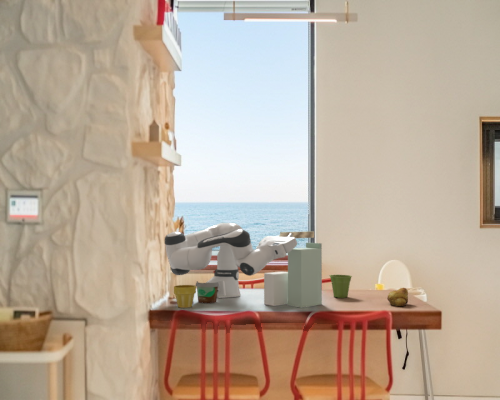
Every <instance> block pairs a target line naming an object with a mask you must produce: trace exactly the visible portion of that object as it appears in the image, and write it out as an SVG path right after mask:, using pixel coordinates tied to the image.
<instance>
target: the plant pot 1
mask: <svg viewBox="0 0 500 400" xmlns="http://www.w3.org/2000/svg"><path fill="white" fill-rule="evenodd" d="M196 292H197V286H196V284H195V285H194V284H179V285H174V286H173V294H174V295H175V301H176V305H177V308H181V309H188V308H189V309H190V308H192V307H193V304H194V303H193V302H194V298H195V295H196Z"/></svg>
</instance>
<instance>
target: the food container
mask: <svg viewBox="0 0 500 400" xmlns="http://www.w3.org/2000/svg"><path fill="white" fill-rule="evenodd" d="M195 286H196V292H197V302H198V303H200V304H215V303H217V290H218V286H219V283H218V282H216V283H206V282H199V281H196V282H195Z"/></svg>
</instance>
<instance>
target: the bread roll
mask: <svg viewBox="0 0 500 400" xmlns="http://www.w3.org/2000/svg"><path fill="white" fill-rule="evenodd" d="M408 295H409V291H408V289H407V288H406V287H400V288H398V289H397V290H391V291H390V292H389V293H388V295H387V301H388V303H389V304H390V305H393V306H396V307H405V306H406V305H407V304H408V302H409V296H408Z"/></svg>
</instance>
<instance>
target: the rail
mask: <svg viewBox="0 0 500 400" xmlns="http://www.w3.org/2000/svg"><path fill="white" fill-rule="evenodd" d="M289 233H292V235H293V237H295V239H310V238H311V239H312V238H313V239H314V238H315V231H313V230H312V231H310V230H309V231H283V232H282V231H280V232H279V235H280V237H288V234H289Z"/></svg>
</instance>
